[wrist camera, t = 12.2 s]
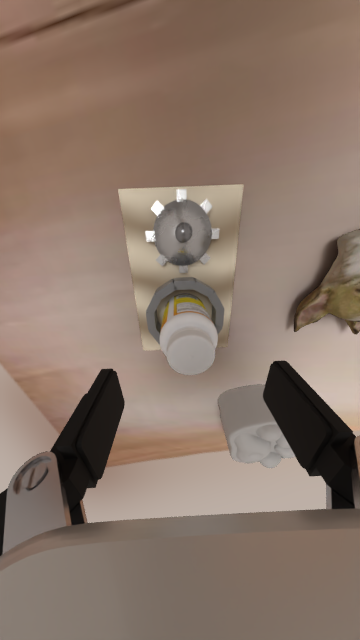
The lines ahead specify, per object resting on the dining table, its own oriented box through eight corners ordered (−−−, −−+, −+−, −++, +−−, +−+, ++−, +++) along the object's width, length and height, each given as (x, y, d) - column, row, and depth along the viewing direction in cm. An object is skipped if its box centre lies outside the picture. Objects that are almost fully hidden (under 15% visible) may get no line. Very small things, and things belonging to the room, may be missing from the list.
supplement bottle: (178, 335, 24) (180, 392, 14) (156, 305, 22) (141, 349, 12) (211, 316, 23) (236, 365, 13) (191, 283, 21) (204, 312, 11)
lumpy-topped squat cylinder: (216, 390, 31) (230, 440, 23) (285, 379, 30) (324, 426, 22) (221, 424, 35) (234, 476, 27) (282, 415, 34) (314, 466, 26)
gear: (142, 194, 17) (133, 178, 13) (219, 191, 17) (231, 174, 13) (151, 273, 20) (145, 278, 16) (215, 270, 20) (223, 275, 16)
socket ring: (145, 278, 20) (141, 282, 18) (221, 275, 20) (226, 279, 18) (153, 343, 24) (151, 353, 22) (216, 340, 24) (221, 350, 22)
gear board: (122, 193, 18) (118, 189, 16) (238, 189, 18) (243, 184, 17) (144, 345, 26) (143, 350, 25) (224, 341, 26) (227, 347, 25)
